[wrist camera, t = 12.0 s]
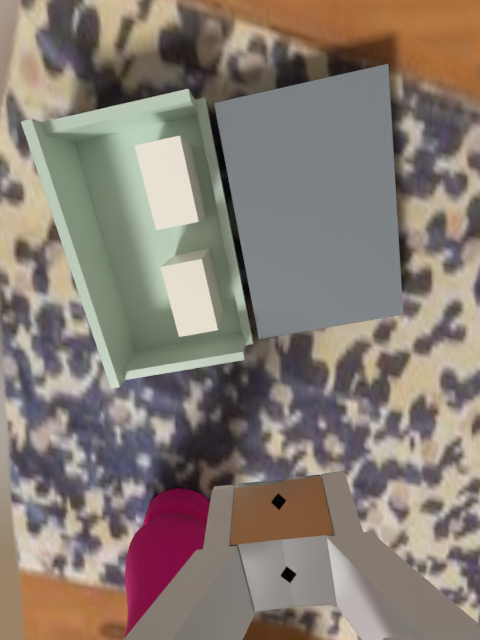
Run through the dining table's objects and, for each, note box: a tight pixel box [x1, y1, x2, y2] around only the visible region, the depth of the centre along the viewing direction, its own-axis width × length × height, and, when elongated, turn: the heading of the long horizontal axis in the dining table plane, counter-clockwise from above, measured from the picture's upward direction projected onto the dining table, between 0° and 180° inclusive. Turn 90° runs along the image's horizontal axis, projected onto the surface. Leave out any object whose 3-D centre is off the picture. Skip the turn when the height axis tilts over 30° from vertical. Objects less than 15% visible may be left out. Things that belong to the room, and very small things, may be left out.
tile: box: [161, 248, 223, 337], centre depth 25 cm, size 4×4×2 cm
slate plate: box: [214, 64, 403, 339], centre depth 25 cm, size 10×15×2 cm, turn 11°
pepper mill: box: [125, 488, 210, 637], centre depth 25 cm, size 7×7×20 cm
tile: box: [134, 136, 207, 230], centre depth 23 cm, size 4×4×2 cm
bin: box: [21, 89, 253, 388], centre depth 24 cm, size 10×16×5 cm, turn 11°
